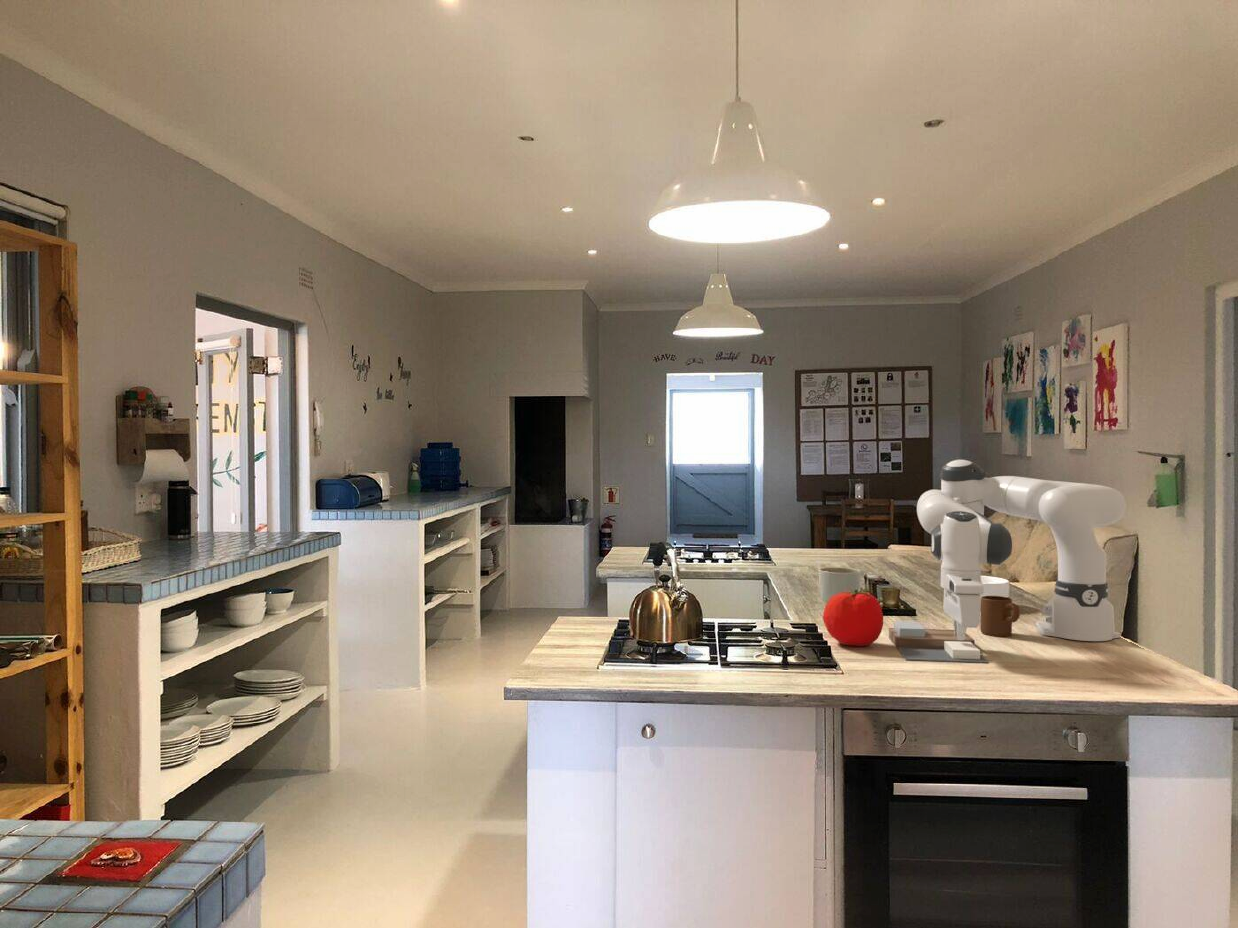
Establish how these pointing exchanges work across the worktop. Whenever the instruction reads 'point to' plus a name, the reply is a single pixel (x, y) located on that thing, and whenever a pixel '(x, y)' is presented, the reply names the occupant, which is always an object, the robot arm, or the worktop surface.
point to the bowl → (995, 586)
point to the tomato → (853, 618)
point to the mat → (933, 655)
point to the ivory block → (961, 650)
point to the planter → (838, 581)
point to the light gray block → (909, 629)
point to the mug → (998, 615)
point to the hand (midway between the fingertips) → (959, 638)
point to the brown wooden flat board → (927, 639)
